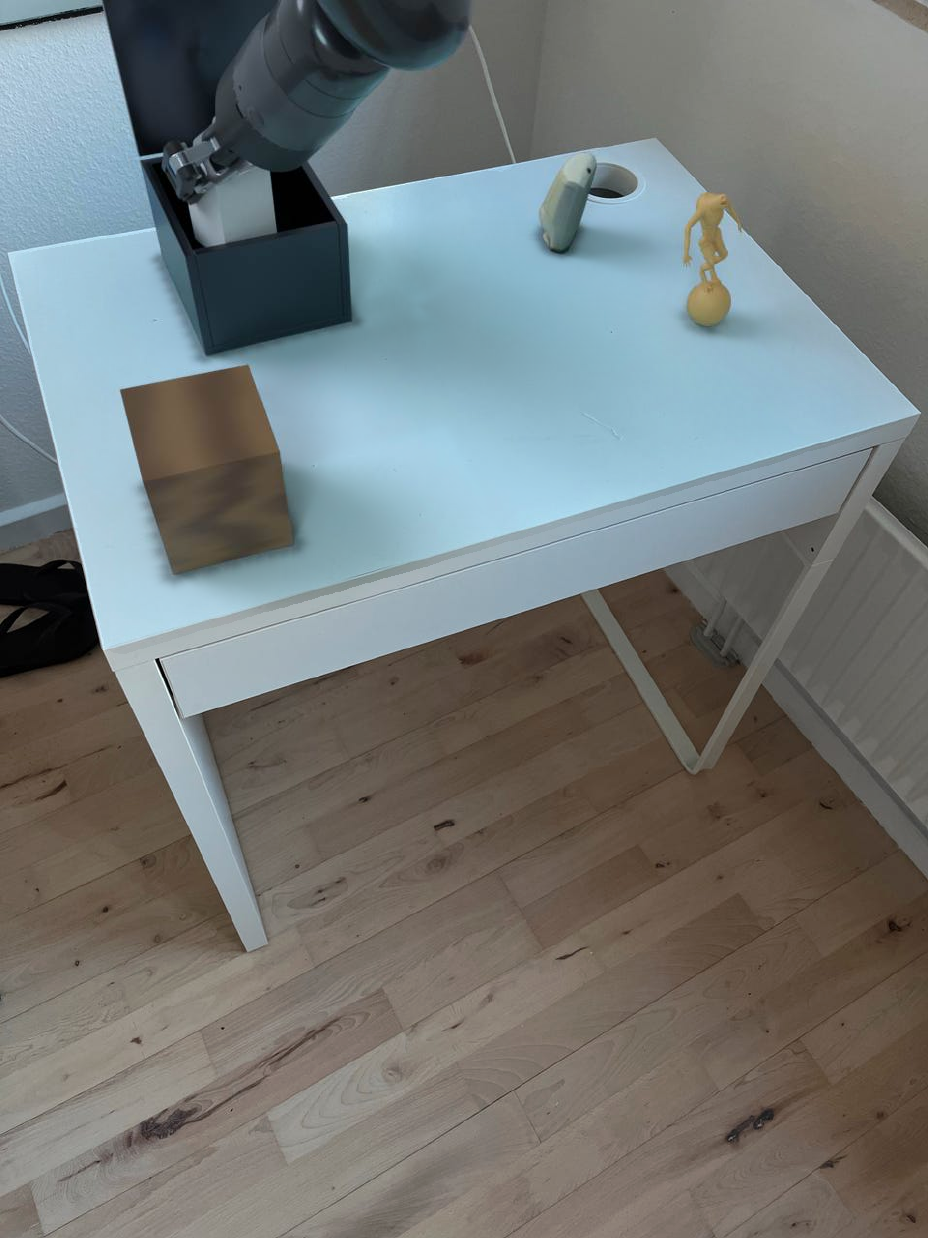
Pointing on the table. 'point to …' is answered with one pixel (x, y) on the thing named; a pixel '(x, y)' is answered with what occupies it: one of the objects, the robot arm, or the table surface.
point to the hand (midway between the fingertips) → (215, 179)
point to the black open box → (257, 264)
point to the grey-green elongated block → (567, 201)
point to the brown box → (209, 467)
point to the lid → (176, 61)
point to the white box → (235, 209)
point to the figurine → (709, 260)
